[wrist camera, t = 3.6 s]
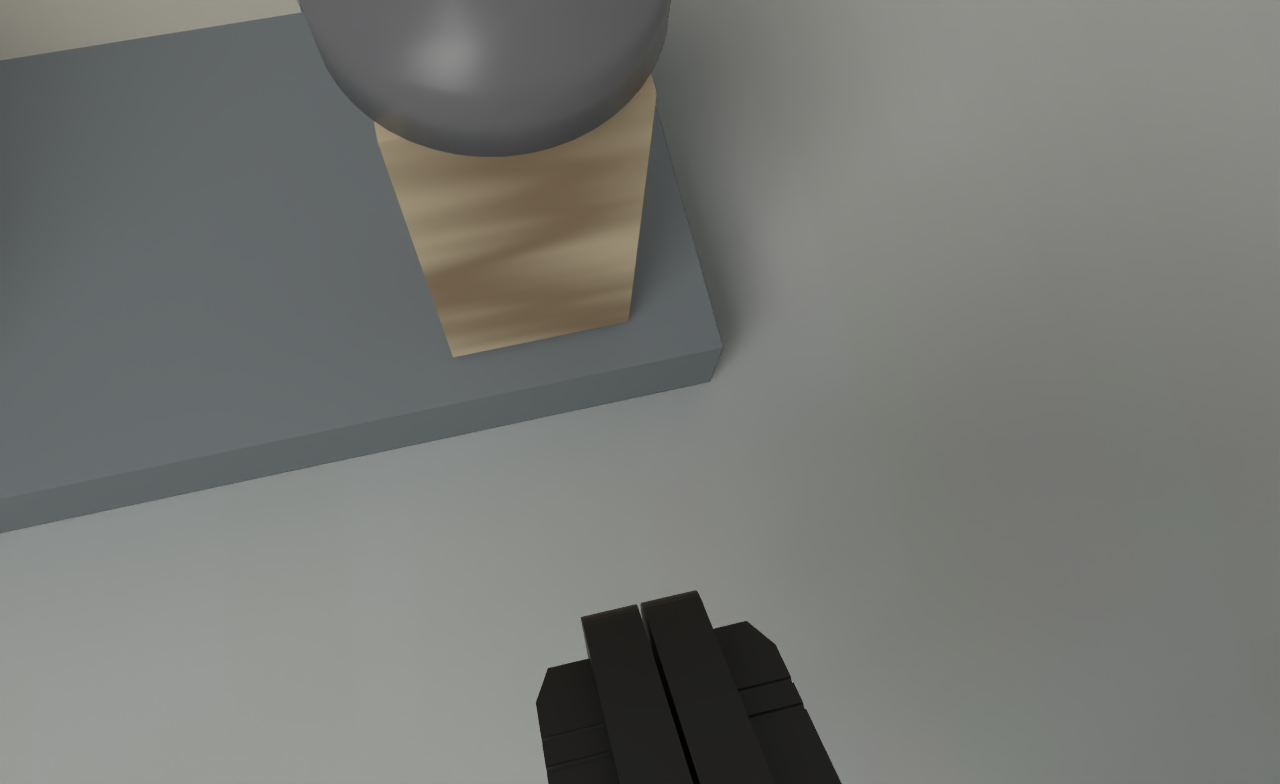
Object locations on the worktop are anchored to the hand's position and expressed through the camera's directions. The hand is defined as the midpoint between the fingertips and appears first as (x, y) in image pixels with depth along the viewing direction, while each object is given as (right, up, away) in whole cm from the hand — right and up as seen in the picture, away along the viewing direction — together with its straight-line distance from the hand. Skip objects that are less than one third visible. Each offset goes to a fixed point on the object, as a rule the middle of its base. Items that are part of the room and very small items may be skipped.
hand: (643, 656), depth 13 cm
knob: (-3, +6, +11) cm, 13 cm away
